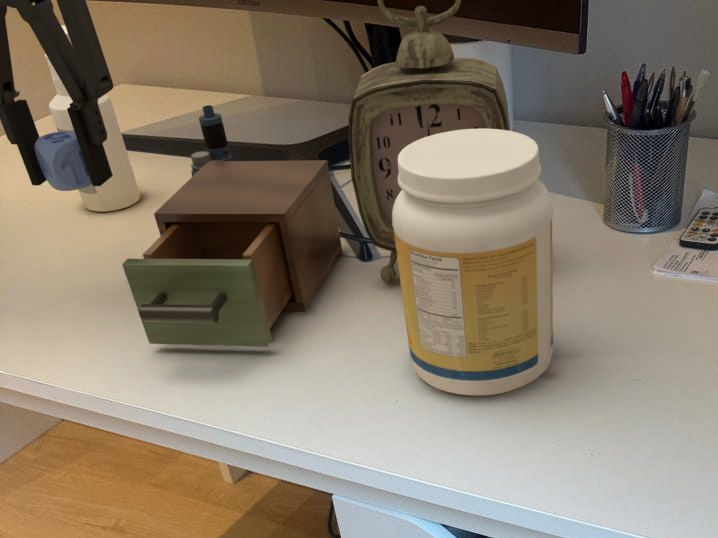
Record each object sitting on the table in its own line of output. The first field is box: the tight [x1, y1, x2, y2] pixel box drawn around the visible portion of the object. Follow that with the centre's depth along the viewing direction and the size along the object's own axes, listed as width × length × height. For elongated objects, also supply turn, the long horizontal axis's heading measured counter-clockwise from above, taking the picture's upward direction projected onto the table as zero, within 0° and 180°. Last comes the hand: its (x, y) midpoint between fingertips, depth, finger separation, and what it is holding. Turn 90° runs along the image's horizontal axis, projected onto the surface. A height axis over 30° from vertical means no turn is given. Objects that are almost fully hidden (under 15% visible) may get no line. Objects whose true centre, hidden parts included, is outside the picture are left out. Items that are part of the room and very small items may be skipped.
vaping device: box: [190, 104, 233, 178], centre depth 98 cm, size 3×5×12 cm, turn 147°
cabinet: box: [153, 159, 343, 312], centre depth 89 cm, size 14×13×9 cm
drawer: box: [121, 222, 294, 348], centre depth 81 cm, size 16×11×7 cm
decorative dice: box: [35, 131, 92, 192], centre depth 85 cm, size 4×4×4 cm
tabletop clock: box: [347, 0, 511, 284], centre depth 82 cm, size 14×9×25 cm, turn 89°
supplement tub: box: [392, 129, 554, 397], centre depth 71 cm, size 12×12×17 cm
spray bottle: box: [44, 24, 141, 213], centre depth 104 cm, size 7×7×18 cm
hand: (72, 180), depth 86 cm, fingers closed on decorative dice, 5 cm apart
